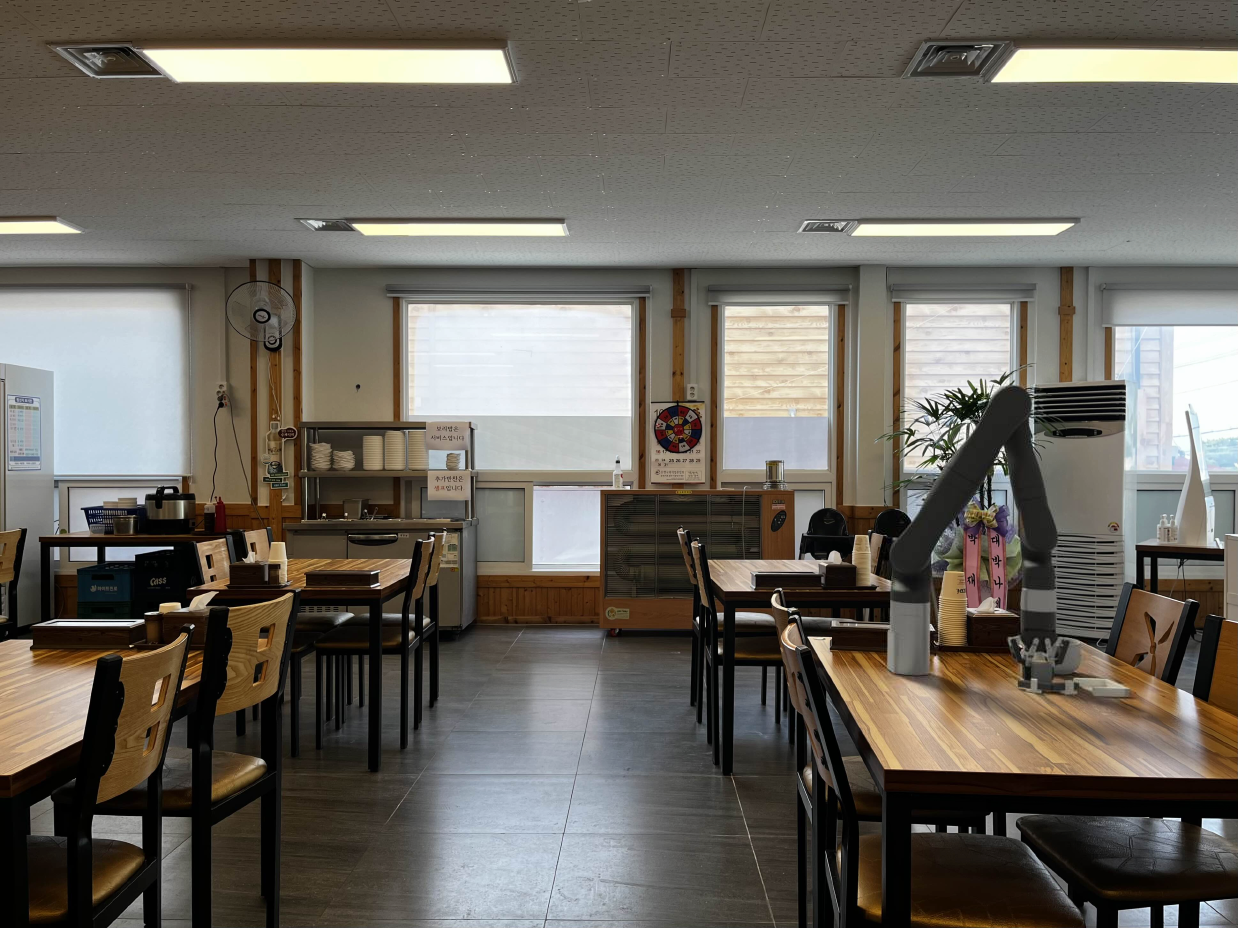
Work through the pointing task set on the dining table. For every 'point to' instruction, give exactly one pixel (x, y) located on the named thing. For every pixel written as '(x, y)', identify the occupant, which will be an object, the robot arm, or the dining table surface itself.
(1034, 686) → the clips
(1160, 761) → the dining table surface
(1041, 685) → the cable run
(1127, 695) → the end holder
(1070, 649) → the teacup
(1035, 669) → the connector
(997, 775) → the dining table surface
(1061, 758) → the dining table surface
